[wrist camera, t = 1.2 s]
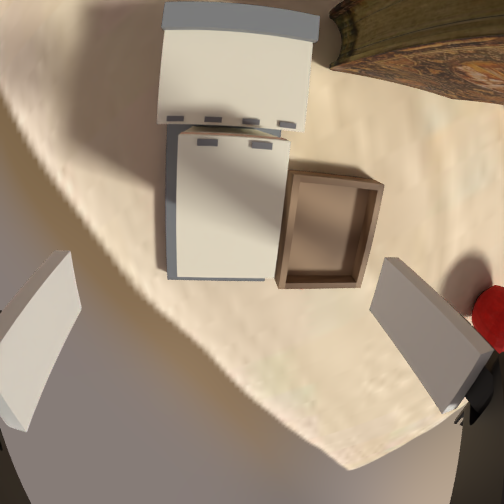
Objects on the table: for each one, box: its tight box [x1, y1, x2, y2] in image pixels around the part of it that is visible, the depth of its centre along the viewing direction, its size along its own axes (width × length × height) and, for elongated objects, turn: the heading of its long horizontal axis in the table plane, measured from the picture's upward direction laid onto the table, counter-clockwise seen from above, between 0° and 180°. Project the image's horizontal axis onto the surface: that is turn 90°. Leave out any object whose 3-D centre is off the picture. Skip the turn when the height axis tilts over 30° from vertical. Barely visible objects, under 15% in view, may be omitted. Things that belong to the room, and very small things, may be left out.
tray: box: [274, 170, 384, 289], centre depth 28 cm, size 11×9×2 cm
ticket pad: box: [157, 2, 320, 133], centre depth 17 cm, size 7×8×9 cm
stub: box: [176, 126, 291, 278], centre depth 19 cm, size 7×5×11 cm
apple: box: [472, 285, 504, 354], centre depth 33 cm, size 10×10×11 cm
